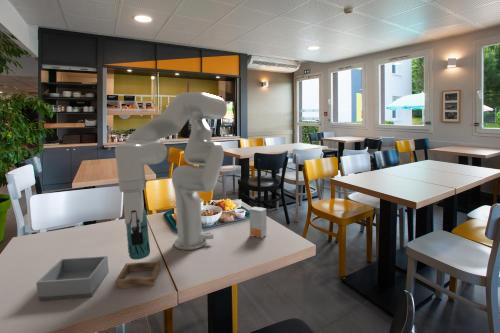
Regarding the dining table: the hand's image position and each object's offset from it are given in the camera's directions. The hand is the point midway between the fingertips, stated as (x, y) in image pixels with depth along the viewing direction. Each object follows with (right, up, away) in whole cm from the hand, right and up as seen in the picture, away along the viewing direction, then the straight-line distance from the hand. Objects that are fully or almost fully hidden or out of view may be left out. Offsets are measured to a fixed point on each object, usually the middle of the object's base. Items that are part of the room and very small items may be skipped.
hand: (138, 239), depth 94 cm
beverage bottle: (0, -7, +1) cm, 7 cm away
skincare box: (+38, -7, +33) cm, 51 cm away
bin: (-18, -13, -3) cm, 22 cm away
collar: (0, -12, +1) cm, 12 cm away
